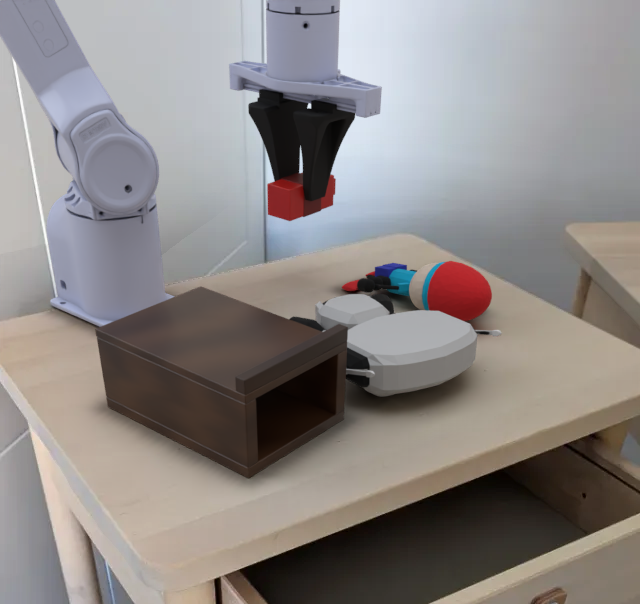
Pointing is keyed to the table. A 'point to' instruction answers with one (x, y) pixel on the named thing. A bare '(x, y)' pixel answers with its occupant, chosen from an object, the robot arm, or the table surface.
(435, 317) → the robot toy
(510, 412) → the table surface
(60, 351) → the table surface
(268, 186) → the red block
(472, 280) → the toy figure
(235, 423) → the shelf
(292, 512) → the table surface
